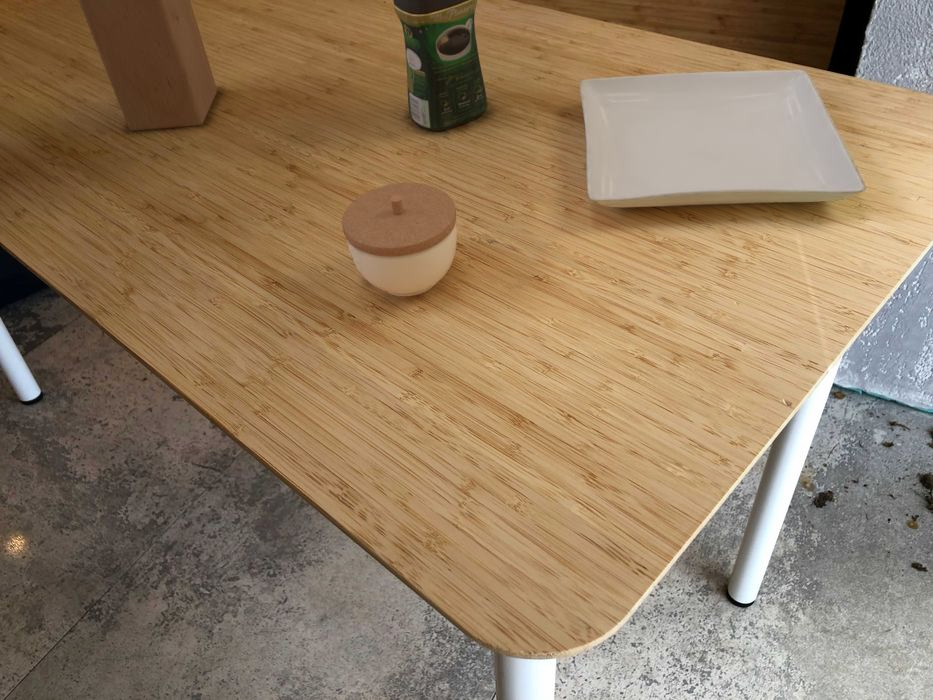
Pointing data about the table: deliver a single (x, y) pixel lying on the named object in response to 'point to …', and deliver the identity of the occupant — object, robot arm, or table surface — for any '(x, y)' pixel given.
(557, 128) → the table surface
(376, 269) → the trinket box
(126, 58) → the wooden block
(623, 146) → the square plate
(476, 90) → the coffee jar
